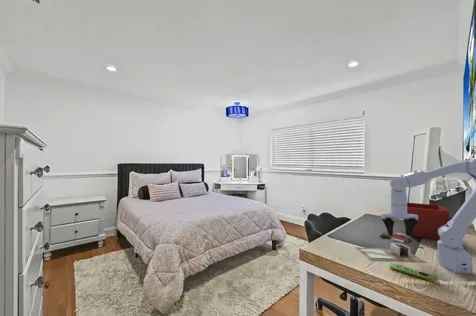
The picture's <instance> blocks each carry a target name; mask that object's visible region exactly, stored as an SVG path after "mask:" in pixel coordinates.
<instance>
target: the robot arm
mask: <svg viewBox="0 0 476 316" xmlns="http://www.w3.org/2000/svg"><path fill="white" fill-rule="evenodd" d="M455 173H460V174H468V175H469V176H470V177H472V179H473V180H474V182H475V184H476V158H472V159H468V160H463V161H458V162H453V163H449V164H447V165H446V164H445V165H444V166H439V167H437V168H434V169H431V170H429V171H425V170H416V169H415V170H413V171H412V172H409V173H406V174H400V177H399V176H398V177H394V178H392V179H391V181H390V183H389V184H390V187H391V188H390V213H387V212H385V213H380V219H381V220H382V222H383V223H384V226H385V228H386V230H387V231H386V232H388V235H390V236H393V233H394V225H395V221H394V220H403V219H404V221H403V223H404V222H405V224H404V227H405V235H407V237H412V236H411V235H412V231H413V229H414V227H415V226H416V224H417V223H418V221H417V220H418V215H415V214H407V203H408V195H407V188H410V189H411V188H414V187H418V186H422V185H426V184H428V183H429V181H430V180H431V179H434V178H438V177H441V176H446V175H451V174H455ZM475 219H476V187H475V188H474V189H473V191H472V192H471V193H470V194H469V196H468V197H467V198H466V200H465V201H464V202H463V203H462V205H461V206H460V208H459V209H458V210H457V211H456V213H455V214H454V215H453V217H452V218H451V219H450V220H448V222H447V224H446V225H444V226H441V227H440V228H439V229H438V234H439V236H440V240H437V263H438V265H439V266H442V267H444V268H446V269H448V270H449V271H450V270H451V271H452V272H454V273H459V274H460V273H461V274H473V273H474V272H473V271H474V269H473V267H474V266H473V257H472V255H471V253H469V252H467V251H466V250H465V249H464V245H463V243H464V237H465V235H467V232H468V228H469V227H470V226H471V224H472V223H473V222H474V220H475Z"/></svg>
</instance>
